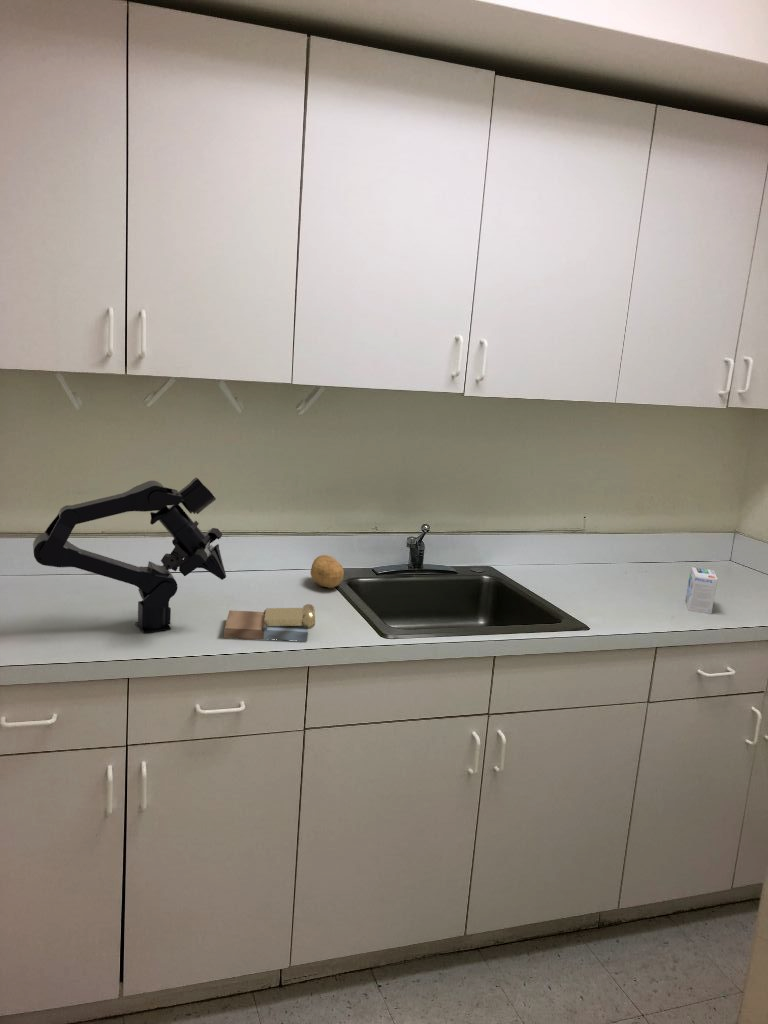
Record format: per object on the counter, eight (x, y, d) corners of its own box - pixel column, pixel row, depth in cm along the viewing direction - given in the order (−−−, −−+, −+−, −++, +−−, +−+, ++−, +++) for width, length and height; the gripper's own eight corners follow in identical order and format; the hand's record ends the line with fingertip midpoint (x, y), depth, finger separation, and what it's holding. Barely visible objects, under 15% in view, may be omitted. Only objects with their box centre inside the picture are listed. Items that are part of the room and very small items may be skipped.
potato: (313, 594, 223) (315, 566, 221) (305, 578, 236) (307, 552, 234) (348, 594, 225) (350, 566, 224) (338, 578, 239) (340, 552, 237)
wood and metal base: (224, 638, 186) (224, 625, 186) (228, 620, 198) (229, 607, 197) (306, 641, 189) (307, 628, 188) (306, 623, 200) (307, 611, 199)
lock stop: (264, 616, 188) (315, 616, 189) (266, 604, 196) (314, 604, 197) (264, 629, 189) (315, 628, 190) (266, 617, 197) (314, 616, 198)
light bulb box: (684, 600, 247) (690, 566, 245) (707, 603, 245) (713, 569, 243) (688, 610, 237) (694, 575, 235) (712, 614, 235) (718, 579, 233)
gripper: (166, 532, 196) (207, 580, 200) (142, 561, 179) (188, 613, 182) (201, 507, 194) (242, 556, 198) (180, 533, 176) (225, 587, 180)
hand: (224, 578), depth 190 cm, fingers closed
